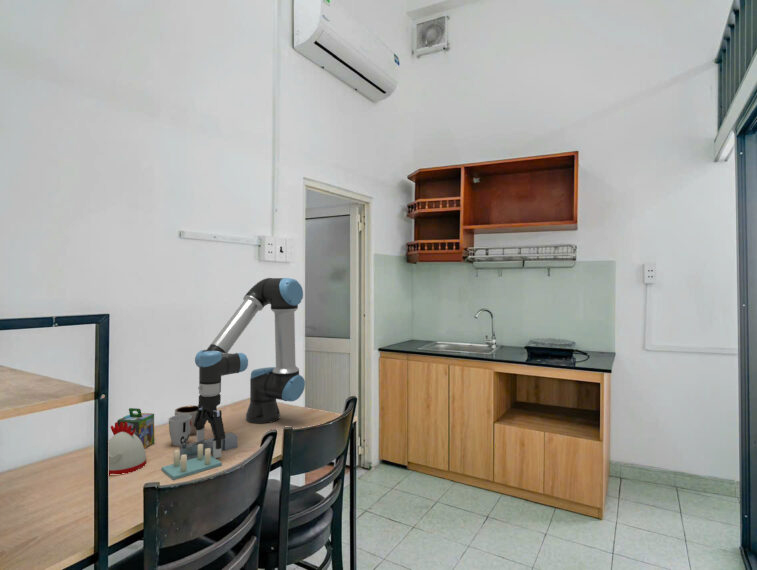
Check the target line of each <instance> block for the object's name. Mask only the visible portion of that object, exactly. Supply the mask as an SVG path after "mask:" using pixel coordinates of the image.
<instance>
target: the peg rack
mask: <svg viewBox="0 0 757 570" xmlns="http://www.w3.org/2000/svg"><path fill="white" fill-rule="evenodd" d="M220 466H223V462H222V461H220V460H219V459H218V458H214V457H213V455H212V454H211V449H210V448H206V449H205V455H204V456H203V444H198V455H197V458H193V459H190V460H187V455H186V454H184V455H181V460H180V449H175V450H173V463H171V464H168V465H164V466H161V471H162V472H163V473H164V474H165V475H167V476H168V477H169V478H170V479H172V481H175V480H177V479H181V478H184V477H188V476H191V475H194V474H199V473H200V472H205V471H207V470H211V469H215V468H218V467H220Z"/></svg>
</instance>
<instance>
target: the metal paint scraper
mask: <svg viewBox="0 0 757 570" xmlns="http://www.w3.org/2000/svg"><path fill="white" fill-rule="evenodd" d="M213 439H214V437H212V438H207V439H204V440H203V441H199V442H196V441H195V442H191V443H187V444H186V443H182V446H179V450H180V461H181V455H184V454H186V455H187V460H190V459H193V458H197V455H198V444H203V456H204V455H205V449H206V448H210V449H211V455H213ZM238 439H239V436H238V435H237V434H235V433H233V432H227V433H225V438H224V439H222V446H221V452H222V451H224V452H226V451H229V450H230V451H231V450H233V449H237V448H238Z"/></svg>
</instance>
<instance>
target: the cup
mask: <svg viewBox="0 0 757 570" xmlns="http://www.w3.org/2000/svg"><path fill="white" fill-rule="evenodd" d="M191 420H192V416H190V415H177V416H175V415H172V416H170V417H169V418H168V431H169V436H170V441H171V444H172V446H174V447H180V446H182V443H186V445H187V444H188V441H189V439H190V436H191V435H190V430H191ZM189 435H190V436H189Z"/></svg>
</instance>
